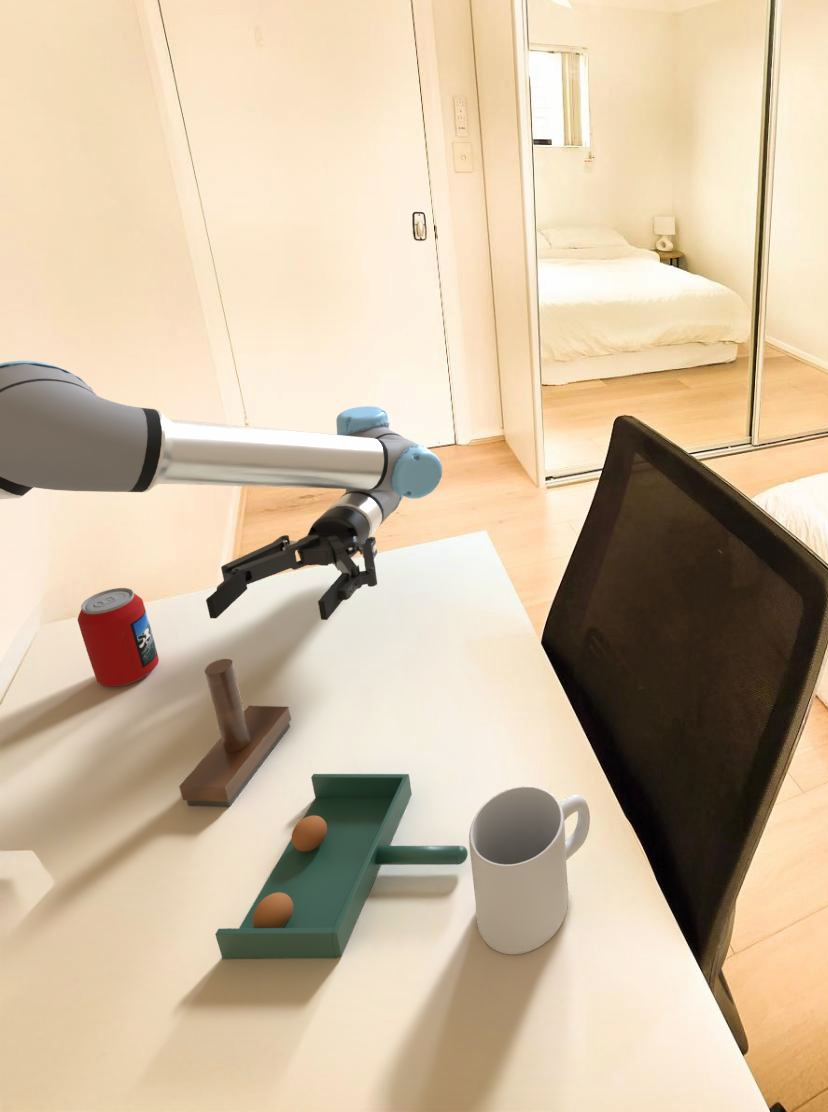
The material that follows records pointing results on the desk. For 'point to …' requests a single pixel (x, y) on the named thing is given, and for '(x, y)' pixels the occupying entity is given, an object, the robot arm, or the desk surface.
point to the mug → (523, 865)
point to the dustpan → (335, 869)
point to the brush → (233, 741)
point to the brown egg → (273, 911)
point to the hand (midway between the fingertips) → (266, 610)
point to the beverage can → (117, 637)
